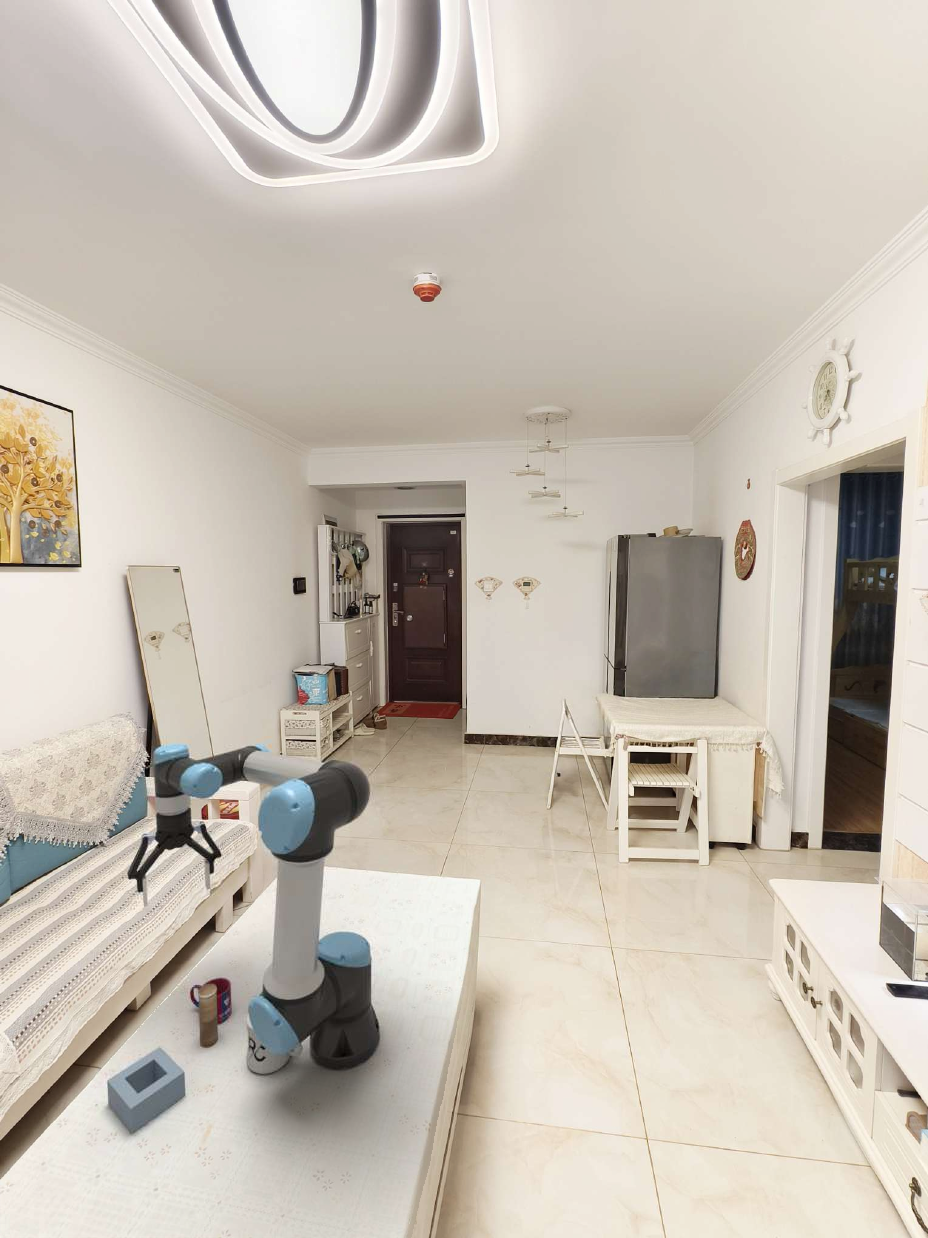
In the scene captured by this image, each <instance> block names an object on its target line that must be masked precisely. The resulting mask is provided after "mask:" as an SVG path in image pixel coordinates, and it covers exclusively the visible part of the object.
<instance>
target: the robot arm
mask: <svg viewBox="0 0 928 1238" xmlns="http://www.w3.org/2000/svg"><path fill="white" fill-rule="evenodd" d="M189 752H190V751H189V747H188V745H187V744H185V743H171V744H169V743H168V744H165V745H162V746H159V747H157V748H156V749H155V750H154V752H153V763H152V767H153V777H154V778H153V779H154V796H155V797H154V798H155V812H156V814H155V820H156V821H155V822H156V824H155V825H156V831H155V833H154V834H148V833H143V834H142V835H141V842H140V846H139V848H138V849H137V851H136V853H135V856H134V858H133V860H132V862H131V865H130V866H129V868H128V871H127V873H126V875H127V879H128V880H129V881H130V880H131V881H132V880H135V881H136V889H137V892H138V893H142V901H143V907H144V908H145V907H147V906H148V905H149V904H148V885H147V882H148V881H147V875H146V874H147V873H148V872H149V870H150V869H151V868H152V867H153V865H154V863H155V862H156V861H157V860H158V858H159V857H160V856H161V855H162V854H163V853H164V852H165V851H166V850H168V851H172V850H174V849H181V848H183V847H185V846H186V845H187V846H188V847H189V848H191V849H192V850H193V851H194V852H196V853H197V854H199V855H200V856H201V857H203V858H204V859H203V864H204V884H205V889H206V890H211V877H210V876H211V875H212V874H214V873H215V860H216V859H220V858H221V857H222V852H221V849H220V848H219V847H218V846H217V844H216V842H215V841H214V840H213V838H212V836H211V834H210V833H209V832H208V831H207V825H206V823H205V821H203V820H202V821H200V822H199V823H198V824H195V825H193V824H192V809H191V805H192V802H191V801H192V800H191V798H196V799H200V800H201V799H202V800H205V799H209V798H211V797H213V796H214V795H215V794H216V793H217V792H219V791H220V789H221V788H224V787H226V786H229V785H231V784H232V785H233V784H235V783H238V782H241V781H246V782H250V783H255V784H259V785H263V786H267V787H270V788H272V789H270V791H268V792H267V793H266V794H265V796H264V797H263V799H262V801H261V803H260V806H259V809H258V814H257V826H258V827H257V828H258V831H259V832H261V835H260V838H261V841H262V843H263V844H264V846H265V847H266V848H267V849H268V850H269V851H270V853H271V855H272V856H273V858H275V859H277V872H276V873H277V874H276V876H277V877H276V890H275V892H276V894H275V910H274V911H275V912H274V925H273V927H274V928H273V929H274V930H273V945H272V963H271V964H269V966H267V968H266V970H265V971H264V974H263V980H262V991H261V992H260V993H259V994H256V995H254V997H253V998H252V999H251V1000H250V1002H249V1004H248V1008H247V1009H248V1013H249V1018H250V1022H251V1025H252V1028H253V1030H254V1032H255V1034H256V1036H257V1038H258V1039H259V1041H260V1042H261V1043H262V1045H263V1046H264V1047H265V1048H266V1049H267V1050H268V1051H269V1052H271V1053H273V1054H275V1055H284V1054H286V1053H287V1052H289V1051H290V1050H293V1049H294V1048H297V1046H299V1044H300V1043H301V1044H302V1042H304V1041H305V1040H306V1039H307V1038H309V1053H310V1056H311V1058H312V1059H313V1060H314V1062H315V1063H316V1064H318V1065H319V1066H321V1067H323V1068H325V1069H328V1070H335V1071H338V1070H339V1071H341V1070H342V1071H343V1070H348V1069H351V1068H354V1067H355V1068H356V1066H359V1065H361V1064H362V1063H364V1062H365V1061H367V1060H368V1059H369V1058H370V1057H372V1056H373V1054H374V1053H375V1052H376V1051H377V1048H378V1046H379V1043H380V1039H381V1038H380V1035H381V1033H380V1032H381V1029H380V1028H381V1027H380V1023H379V1020H378V1017H377V1014H376V1011H375V1010H374V1006H373V1004H372V961H373V958H372V953H371V944H370V943H369V940H367V938H366V937H364V936H363V935H361V934H359V933H356V932H353V931H336V932H331V933H329V934H326V935H324V936H323V937H321V938H320V930H321V929H320V927H321V915H322V914H321V913H322V901H323V887H324V873H325V858H327V857H328V856H329V855H330V854H332V852H333V850H334V845H335V844H334V842H335V832H336V830H338V829H340V828H343V827H344V826H347V825H348V824H350V823H352V822H354V821H355V820H357V819H358V818H359V817H360V816H361V815H362V814H363V812H364V811H365V809H366V808H367V806H368V804H369V801H370V795H371V785H370V783H369V779H368V776H367V775H366V773H365V772H364V771H363V770H362V769H361V768H360V767H358V766H357V765H356V764H354V763H351V762H349V761H348V762H347V761H345V760H338V759H337V760H336V759H328V760H327V761H325V762H322V761H316V760H311V759H307V758H306V759H305V758H300V757H294V756H290V755H285V754H278V753H275V752H274V753H273V752H271V751H270V750H269V749H268V748H266V746H265V745H263V744H260V743H259V744H254V745H246V746H245V747H241V748H237V749H234V750H231V751H227V752H224V753H220V754H216V755H212V756H209V757H205V758H201V759H193V758H190V753H189ZM195 832H197V834H201V835H202V837H203V839H204V840H205V842H206V844H207V845H208V846H209V848H210V849H211V851H212V853H211V852H210V851H209V850H208V849H206V848H205V847H204V846H202V845H201V843H198V842H197V841H196V840H194V838H193V837H192V836H193V835H194V833H195ZM153 841H155V842H156V843H157V844H156V845H155V847H154V849H153V850H152V851H151V853H150V855H148V857H147V859H145V861H144V862H143V864H141V862H142V860H143V858H144V856H145V854H146V852H147V850H148V847H149V846H150V845H151V844H152V842H153ZM140 865H141V866H140Z"/></svg>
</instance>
